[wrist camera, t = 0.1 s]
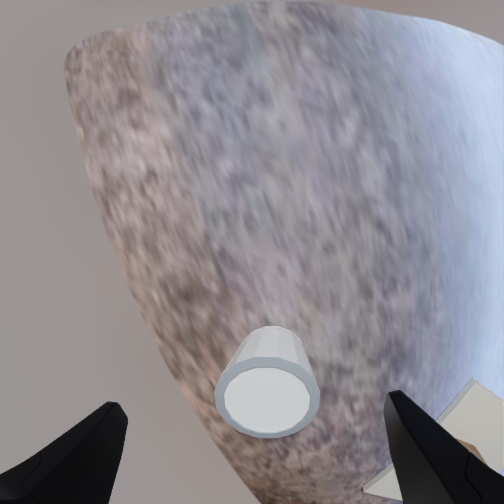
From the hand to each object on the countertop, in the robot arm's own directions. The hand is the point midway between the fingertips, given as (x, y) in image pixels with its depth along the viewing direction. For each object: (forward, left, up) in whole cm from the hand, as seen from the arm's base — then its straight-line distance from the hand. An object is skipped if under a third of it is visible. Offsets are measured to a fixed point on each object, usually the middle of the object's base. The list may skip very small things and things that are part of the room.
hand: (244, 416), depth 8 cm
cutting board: (-5, -35, -15) cm, 39 cm away
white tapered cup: (-4, -3, -16) cm, 17 cm away
